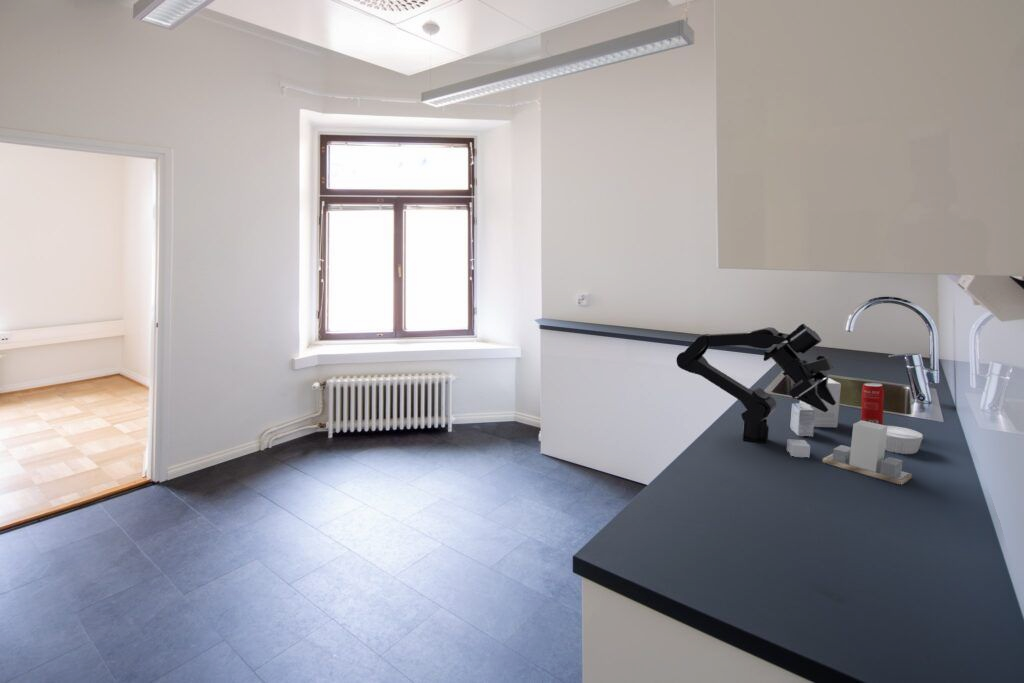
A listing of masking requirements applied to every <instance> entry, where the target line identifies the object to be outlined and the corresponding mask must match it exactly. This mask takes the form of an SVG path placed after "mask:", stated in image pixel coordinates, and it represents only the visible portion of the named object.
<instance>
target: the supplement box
mask: <svg viewBox="0 0 1024 683" xmlns="http://www.w3.org/2000/svg"><path fill="white" fill-rule="evenodd" d="M826 378H828V383H827V386H828V388H829V390H830V392H831V394H832V396H833V398H834V400H835V402H836V404H835V405H831V404H829V403H828V402H826V401H824V400H823V399H822V401H823V402H824V404H825V405H826V407H827V408H828V411H827V412H823V411H821V410H819V409H817V408H815V407H813V406H811V405H809V404H807V403H805V402H802V401H800V400H799V403H801V404H807V405H808V406H810V407H811V408H812V409H813V410H815V417H814V428H833V429H835V428H836V429H837V428H838V424H839V423H838V422H839V412H840V398H841V389H842V388H841V387H842V384H841V383H840V382H838V381H836V380H835V379H833V378H830V377H825V378H824V379H823V380H825V379H826Z"/></svg>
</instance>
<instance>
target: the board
mask: <svg viewBox="0 0 1024 683" xmlns="http://www.w3.org/2000/svg"><path fill="white" fill-rule="evenodd" d="M831 455H833V453H831V454H830V455H827V456H825V457H823V458H822V463H824V464H826V463H827V465H831V466H834V467H838V468H840V469H844V470H848V471H852V472H855V473H859V474H862V475H864V476H869V477H872V478H876V479H879V480H883V481H886V482H890V483H893V484H898V485H900V484H901V485H900V486H903V485H904V484H905V483H907V482H908V481H909V480H911V479H912V478H913V474H912V473H909V472H908V473H909V474H908V475H907V476H905V477H904V478H903V479H901V480H899V479H895V478H892V477H888V476H885V475H881V474H877V473H874V472H870V471H867V470H863V469H860V468H856V467H852V466H849V465H845V464H842V463H838V462H835V461H831V460H827V459H826V458H827V457H829V456H831ZM902 484H903V485H902Z"/></svg>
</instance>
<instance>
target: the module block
mask: <svg viewBox="0 0 1024 683" xmlns="http://www.w3.org/2000/svg"><path fill="white" fill-rule="evenodd" d="M852 424H853V426H852V434H851V435H852V436H851V442H850V444H851V445H850V447H851V451H850V461H849V464H850V465H854V466H857V467H861V468H865V469H868V470H872V471H875V472H876V471H877V470H879V469H880V468H881V461H883V460H884V458H885V453H886V450H885V444H886V436H887V427H888V426H889V425H886V424H885V425H884V424H883V425H881V424H876V423H871V422H867V421H862V420H861V419H860V420H859V421H857V422H854V423H852Z"/></svg>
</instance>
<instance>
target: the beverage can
mask: <svg viewBox="0 0 1024 683" xmlns="http://www.w3.org/2000/svg"><path fill="white" fill-rule="evenodd" d="M861 389H862V390H861V412H860V414H861V415H860V417H861V418H860V421H861V420H862V421H867V422H871V423H876V424H881V425H884V423H883V422H884V397H885V396H884V392H885V389H884V386H883V384H882V383H880V382H879V383H877V382H864V383H863V385H862V387H861Z"/></svg>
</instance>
